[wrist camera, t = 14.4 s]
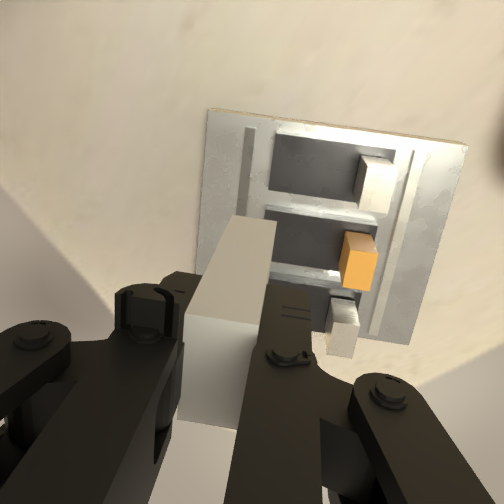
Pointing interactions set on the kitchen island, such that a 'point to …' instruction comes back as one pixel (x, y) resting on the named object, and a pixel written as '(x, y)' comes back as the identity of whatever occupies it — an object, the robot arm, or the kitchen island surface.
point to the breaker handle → (357, 261)
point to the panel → (333, 213)
